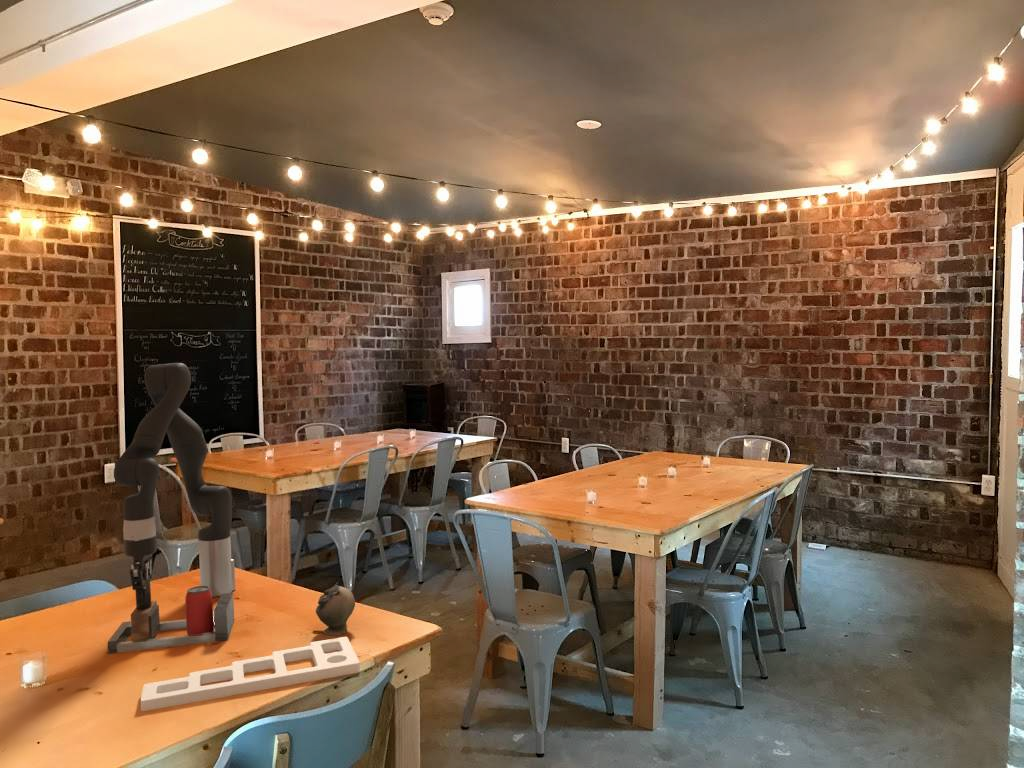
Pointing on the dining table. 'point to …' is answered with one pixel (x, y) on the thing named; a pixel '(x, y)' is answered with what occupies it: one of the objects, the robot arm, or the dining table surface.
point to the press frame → (221, 619)
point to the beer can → (199, 610)
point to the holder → (193, 691)
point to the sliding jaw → (145, 617)
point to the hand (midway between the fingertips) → (143, 601)
